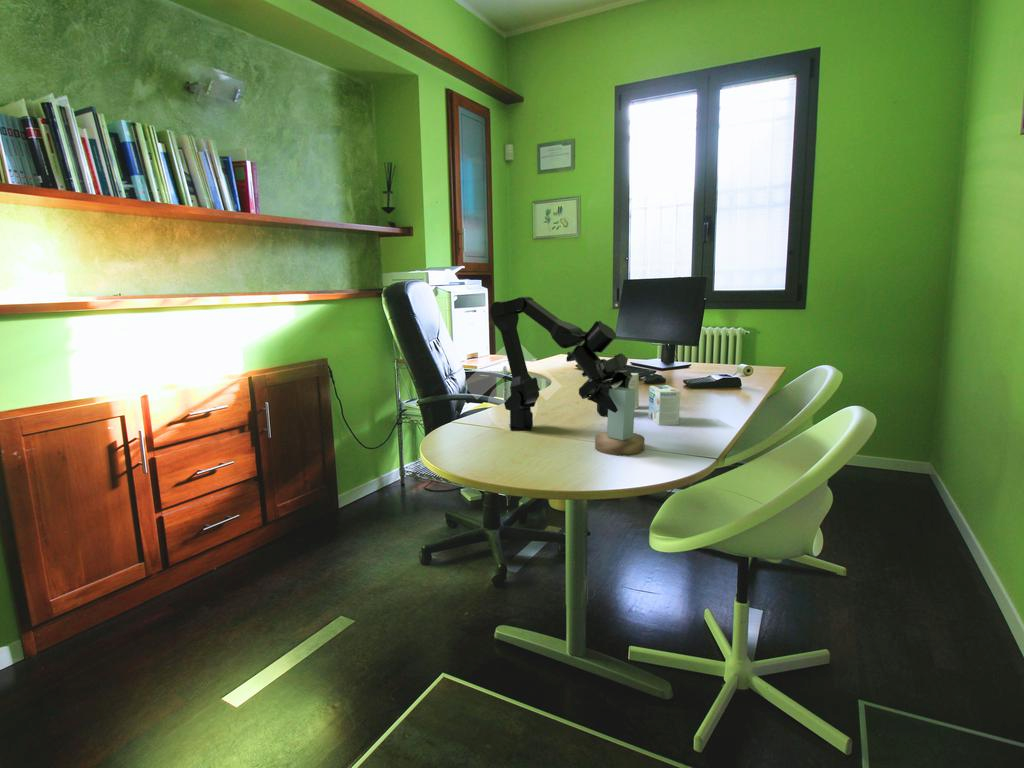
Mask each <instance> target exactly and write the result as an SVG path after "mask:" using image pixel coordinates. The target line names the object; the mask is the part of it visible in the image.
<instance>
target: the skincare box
mask: <svg viewBox="0 0 1024 768" xmlns="http://www.w3.org/2000/svg"><path fill="white" fill-rule="evenodd" d="M630 373H631V374H632V378H631V379H630V381H629V385H628V387H629V389H636V393H635V410H637V409H638V408H639V405H640V404H639V403H640V400H639V395H640V394H639V389H640V388H639V387H640V384H639V381H640V380H639V379H640V378H639V377H640V375H639V372H630Z"/></svg>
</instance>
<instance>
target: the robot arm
mask: <svg viewBox="0 0 1024 768" xmlns="http://www.w3.org/2000/svg"><path fill="white" fill-rule="evenodd" d="M522 313H523V314H525V315H526V316H528V317H529V318H530V319H531V320H532V321H534V322H536V323H537V324H538V325H539V326H540V327H542V328H543V329H545V330H546V331H547V332H548V333H549V334H550V336H551V339H552V340H553V342H555V344H556V345H558V346H559V348H561V349H571V348H574V349H573V350H572V351H567V356H566V362H567V363H569V362H574V361H575V363H576V364H577V365H578V366H579V368H580V370H582V373H581V375H582V377H583V378H585V377H587V378H588V379H587V380H586V381H585V382H584V383H583V384H582V385H581V386H580V387H579V388H578V395H579V396H580V398H581V399H582V400H585V399H587V400H588V401H590V402H593V403H595V404H596V405H597V404H599V405H601V406H603V407H605V408H607V409H609V410H611V411H612V412H614V413H616V412H617V411H618V409H617V407H616V405H615V404H614V402H613V401H612V399H611V397H610V396H609V394H608V392H607V387H608V386H609V388H610V389H612V388H617V387H623V388H629V387H628V385H629V381H630V379H631V378H632V374H631V373H632V372H631V371H629V370H626V369H625V368H627V367H628V361H629V359H628V357H626V355H624V354H623V352H622V353H621V352H620V353H618V354H616V355H614V356H613V357H611V358H609V359H605V358H600V357H599V356H598V354H597V353H604V351H605V350H606V349H607V348H608V347H609V346H610V345H611V344H612V343H613V342H614V340H615V339H616V338H617V333H616V332H615V330H614V329H613V328H611V327H610V326H609V325H607V324H605V323H603V321H602V320H597V321H595V322H594V323H593V325H592V326H591V327H590V328H589V330H588V331H584V330H583V329H582V328H581V327H580V326H578V325H575V324H573V323H571V322H568V321H564V320H562V319H560V318H558V316H556V315H555V314H553V313H552V312H551V311H549V310H548V309H546V308H545V307H543V305H541V304H539V303H538V302H537V301H535V300H534V298H533V297H532V296H519V297H517V298H514V299H511V300H501V301H500V300H499V301H494V302H493V303H492V305H491V306H490V308H489V315H490V317H491V321H492V323H493V325H494V326H495V327H496V328H497V329H498V331H499V332H500V334H501V335H500V336H501V338H502V342H503V346H504V351H505V355H506V357H507V361H508V365H509V369H510V373H511V383H510V387H509V390H510V391H509V392H510V395H509V397H508V398H507V399H506V400H505V401H504V402H503V404H504V408H505V410H506V411H509V424H508V425H509V430H510V431H525V430H526V431H529V430H530V431H531V429H533V428H532V427H533V426H534V417H533V416H534V414H533V412H532V408H534V407H536V403H537V401H538V400H539V399H538V398H539V397H540V391H541V389H540V387H539V384H538V378H537V377H532V376H531V375H530V373H529V372H528V367H527V363H526V359H525V355H524V352H523V348H522V344H521V340H520V336H519V332H518V328H517V327H518V323H519V318H520V317H519V315H520V314H522ZM622 368H624V369H625V370H620V369H622ZM618 370H620V371H618ZM616 371H617V372H616ZM616 373H617V374H616ZM615 374H616V375H615ZM613 375H615V376H614V377H612V376H613Z"/></svg>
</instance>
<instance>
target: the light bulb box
mask: <svg viewBox="0 0 1024 768" xmlns="http://www.w3.org/2000/svg"><path fill="white" fill-rule="evenodd" d="M648 391H649V393H648V394H649V395H648V397H649V398H648V418H649V419H650V420H651V421H652V422H654V423H655V424H656V425H657V426H679V424H680V407H681V390H679V389H677V388H675V387H673V386H671V385H669V384H665V385H664V384H662V385H649V390H648Z"/></svg>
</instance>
